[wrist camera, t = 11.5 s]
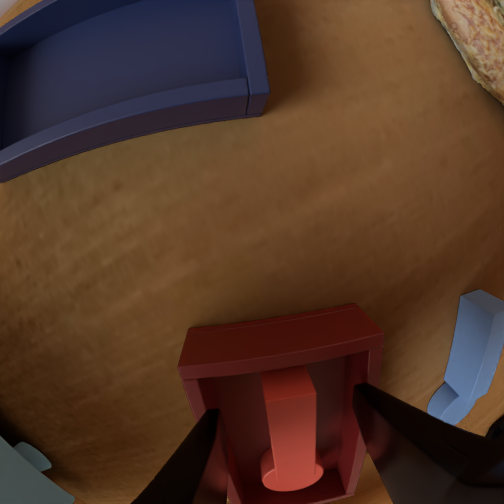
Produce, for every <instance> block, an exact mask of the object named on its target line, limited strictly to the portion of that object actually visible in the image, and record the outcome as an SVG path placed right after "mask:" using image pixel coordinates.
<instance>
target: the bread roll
mask: <svg viewBox="0 0 504 504" xmlns="http://www.w3.org/2000/svg"><path fill="white" fill-rule="evenodd" d="M429 1H430V5H431V8H432V12H433V15H435V16H436V18H437V19H439V20H440V21H441V24H442V26H443V27H444V28H445V29H446V31H447V33H448V34H449V35H450V37H451V39H452V40H453V42H454V44H455V46H456V48H457V49H458V50H459V51H460V53H461V55H462V58H463V59H464V61H465V62H466V65H467V66H468V68H469V70H470V72H471V75H472V77H473V80H475V81H477V83H481V85H482V87H483V88H485V89H486V90H487V91H488V92H490V93H491V95H492V96H494V98H496V99H497V100H499V101H500V102H501V103H502V105H504V0H429Z"/></svg>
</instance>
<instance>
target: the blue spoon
mask: <svg viewBox="0 0 504 504" xmlns="http://www.w3.org/2000/svg"><path fill="white" fill-rule="evenodd" d="M503 345H504V301H502V300H500V299H498V298H496V297H494V296H493V295H491V294H489V293H487V292H485V291H483V290H481V289H479V290H476V291H473V292H470V293H467V294H464V295H461V296H460V302H459V309H458V315H457V321H456V327H455V333H454V338H453V343H452V347H451V352H450V356H449V360H448V364H447V368H446V372H445V376H444V380H445V381H446V383H444V384H443V385H442V386H441V387H440V388H439V389H438V390H437V391H436V392H435V394H434V395H433V397H432V398H431V400H430V402H429V404H428V408H427V411H428V414H430V415H432V416H434V417H436V418H438V419H440V420H442V421H444V423H445V422H447V423H449V424H451V425H453V426H454V425H455V424H457V423H458V422H460V421H461V420H462V419H463V418H464V417H465V416H466V415H467V414H468V413H469V411H470V410H471V409H472V407H473V405H474V404H475V402H476V399H478V398H480V397H481V396H483V395H484V394H486V393H487V392H488V389H489V387H490V384H491V382H492V379H493V376H494V373H495V370H496V368H497V365H498V361H499V358H500V355H501V352H502V348H503Z"/></svg>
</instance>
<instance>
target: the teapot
mask: <svg viewBox="0 0 504 504" xmlns="http://www.w3.org/2000/svg"><path fill="white" fill-rule="evenodd" d="M49 468H51V463H50V462H49V460H48V459H47V458H46V457H45V456H44V455H43V454H42V453H41V452H39V451H38V450H37V449H35V448H34V447H32V446H31V445H29V444H27V443H24V442H20V443H18V444H17V445H16V446H14V447H13V448H12V447H11V446H10V445H9V444H8V443H7V442H6V441H5V440H4V439H3V438H2V437H1V436H0V504H73V503H74V500H75V497H74V496H72V495H71V494H69V493H68V492H66V491H65V490H64V489H62V488H61V487H59V486H58V485H57V484H55V483H54V482H53V481H51V480H50V479H49V478H47V477H46V476H45V475H43V474H42V473H41V471H44V470H47V469H49Z"/></svg>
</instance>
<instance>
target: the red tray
mask: <svg viewBox="0 0 504 504" xmlns="http://www.w3.org/2000/svg"><path fill="white" fill-rule="evenodd" d="M383 343H384V332H383V331H382V330H381V329H380V328H379V327H378V326H377V325H376V324H375V323H374V322H373V321H372V320H371V319H370V318H369V316H368V315H367V314H366V313H365V312H364V311H363V310H362V309H361V308H359V306H358V305H357V304H356V303H353V304H348V305H343V306H338V307H332V308H327V309H322V310H316V311H311V312H305V313H299V314H293V315H287V316H281V317H275V318H268V319H261V320H254V321H247V322H240V323H232V324H224V325H216V326H208V327H199V328H189V329H188V332H187V336H186V339H185V342H184V346H183V349H182V353H181V356H180V360H179V363H178V371H179V374H180V377H181V379H182V383H183V386H184V389H185V392H186V395H187V398H188V401H189V404H190V407H191V409H192V412H193V415H194V418H195V420H196V423H197V422H198V421H199V419H200V418H201V417H202V415H203V414H204V413H205V411H206V410H207V409H215V408H219V409H220V410H221V413H222V416H223V420H224V423H225V427H226V438H227V452H228V468H229V470H228V487H227V496H228V498H229V500H230V502H231V504H324V503H328V502H332V501H336V500H340V499H343V498H347V497H350V496H353V495H354V493H355V490H356V487H357V484H358V480H359V477H360V473H361V469H362V465H363V462H364V458H365V454H366V449H367V448H366V446H365V444H364V441H363V438H362V435H361V432H360V429H359V426H358V423H357V420H356V417H355V414H354V411H353V407H352V397H353V387H354V385H356V384H359V383H363V382H367V383H369V384H371V385H373V386H375V387H377V388H378V386H379V379H380V371H381V363H382V354H383ZM303 364H305V365H306V368H307V370H308V373H309V375H310V378H311V380H312V383H313V385H314V388H315V391H316V448H317V449H318V452H319V456H320V459H321V462H322V465H323V468H324V472H323V475H322V477H321V478H320V479H319V480H318V481H317V482H315V483H314V484H312V485H310V486H308V487H305V488H302V489H299V490H294V491H275V490H271V489H269V488H267V487H266V486H265V485H264V484H263V482H262V475H261V466H260V458H261V456H262V454H263V453H264V452H265V451H266V450H267V449H269V448H271V440H270V434H269V427H268V421H267V414H266V408H265V401H264V395H263V388H262V381H261V375H260V372H261V371H268V370H274V369H281V368H287V367H292V366H298V365H303Z"/></svg>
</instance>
